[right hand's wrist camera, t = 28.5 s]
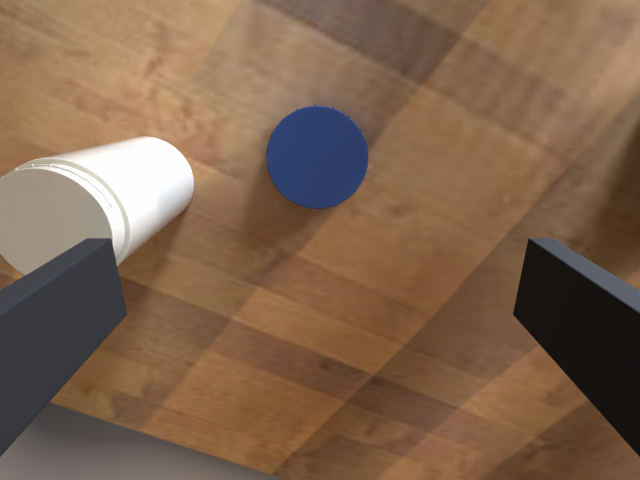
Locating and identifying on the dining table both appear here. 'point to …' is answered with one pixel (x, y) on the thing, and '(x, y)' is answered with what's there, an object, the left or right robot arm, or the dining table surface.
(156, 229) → the jar
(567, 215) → the dining table surface
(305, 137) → the lid
